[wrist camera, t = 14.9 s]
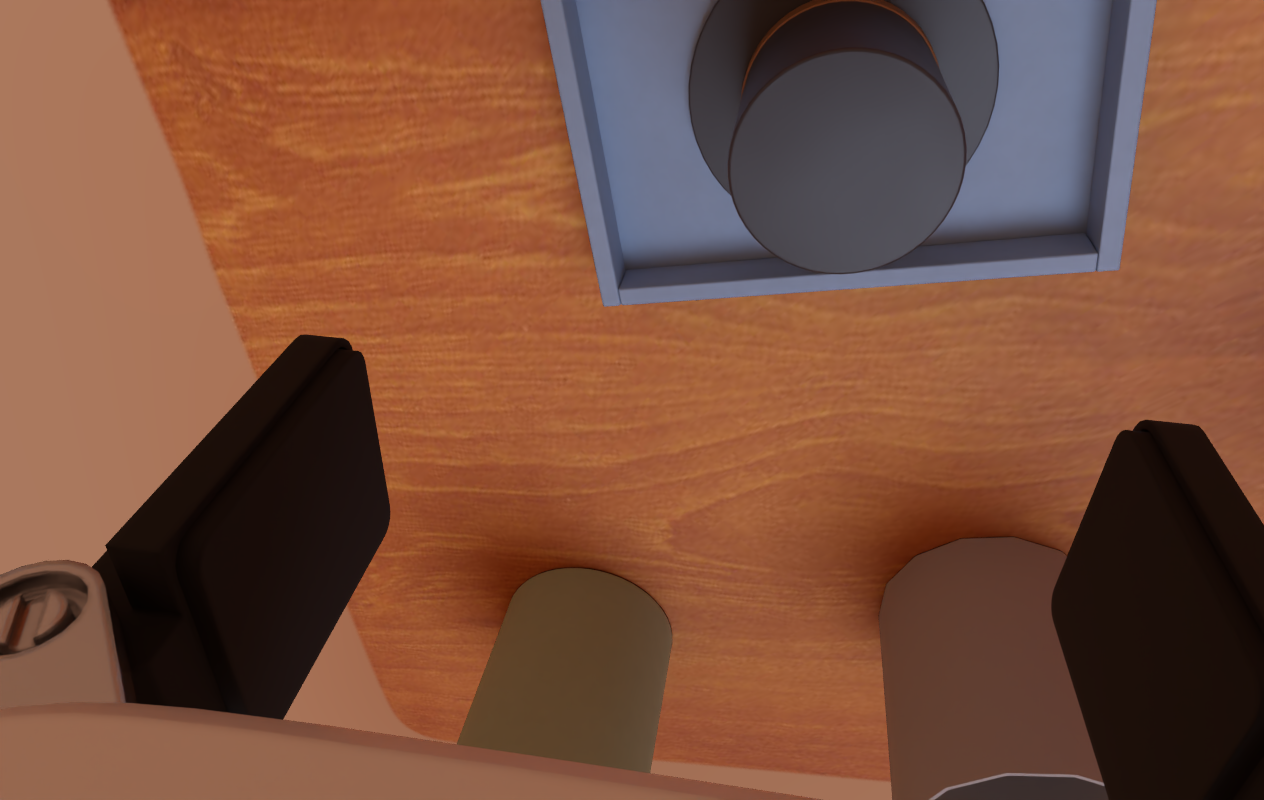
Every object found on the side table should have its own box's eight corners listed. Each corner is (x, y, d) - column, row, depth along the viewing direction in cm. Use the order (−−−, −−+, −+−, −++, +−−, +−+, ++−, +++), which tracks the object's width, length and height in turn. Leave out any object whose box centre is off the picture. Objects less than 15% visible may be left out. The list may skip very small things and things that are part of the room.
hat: (636, 128, 27) (592, 212, 21) (811, -150, 22) (809, -132, 17) (859, 277, 28) (869, 391, 23) (1065, 46, 24) (1139, 120, 18)
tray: (614, 280, 30) (602, 307, 29) (543, -89, 24) (523, -80, 23) (1101, 241, 27) (1119, 270, 25) (1156, -199, 21) (1185, -199, 19)
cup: (884, 681, 39) (902, 914, 31) (872, 542, 35) (889, 770, 27) (1094, 681, 37) (1172, 931, 29) (1109, 533, 33) (1205, 777, 25)
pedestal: (481, 632, 42) (391, 859, 33) (557, 540, 38) (476, 772, 29) (618, 704, 43) (566, 942, 34) (705, 624, 39) (672, 870, 30)
